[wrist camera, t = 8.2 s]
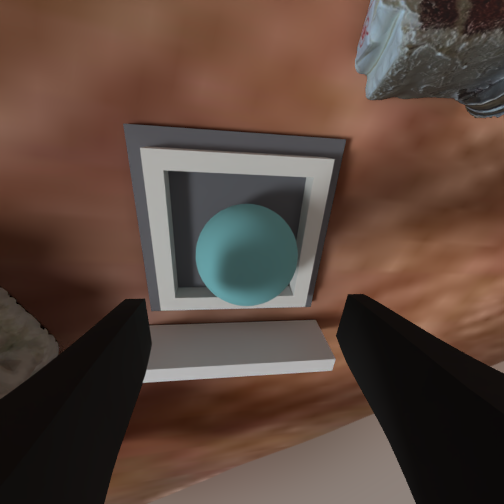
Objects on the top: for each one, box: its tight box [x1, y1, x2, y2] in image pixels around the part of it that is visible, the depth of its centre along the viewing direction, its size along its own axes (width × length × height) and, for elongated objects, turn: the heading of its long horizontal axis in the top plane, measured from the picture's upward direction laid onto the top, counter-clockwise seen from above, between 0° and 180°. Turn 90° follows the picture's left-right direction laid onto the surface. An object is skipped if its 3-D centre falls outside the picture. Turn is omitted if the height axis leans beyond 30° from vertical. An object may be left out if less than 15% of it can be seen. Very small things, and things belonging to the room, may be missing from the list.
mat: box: [123, 124, 346, 311], centre depth 15 cm, size 12×12×2 cm
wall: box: [143, 320, 335, 383], centre depth 18 cm, size 14×1×4 cm, turn 86°
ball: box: [196, 204, 298, 306], centre depth 13 cm, size 6×6×6 cm
